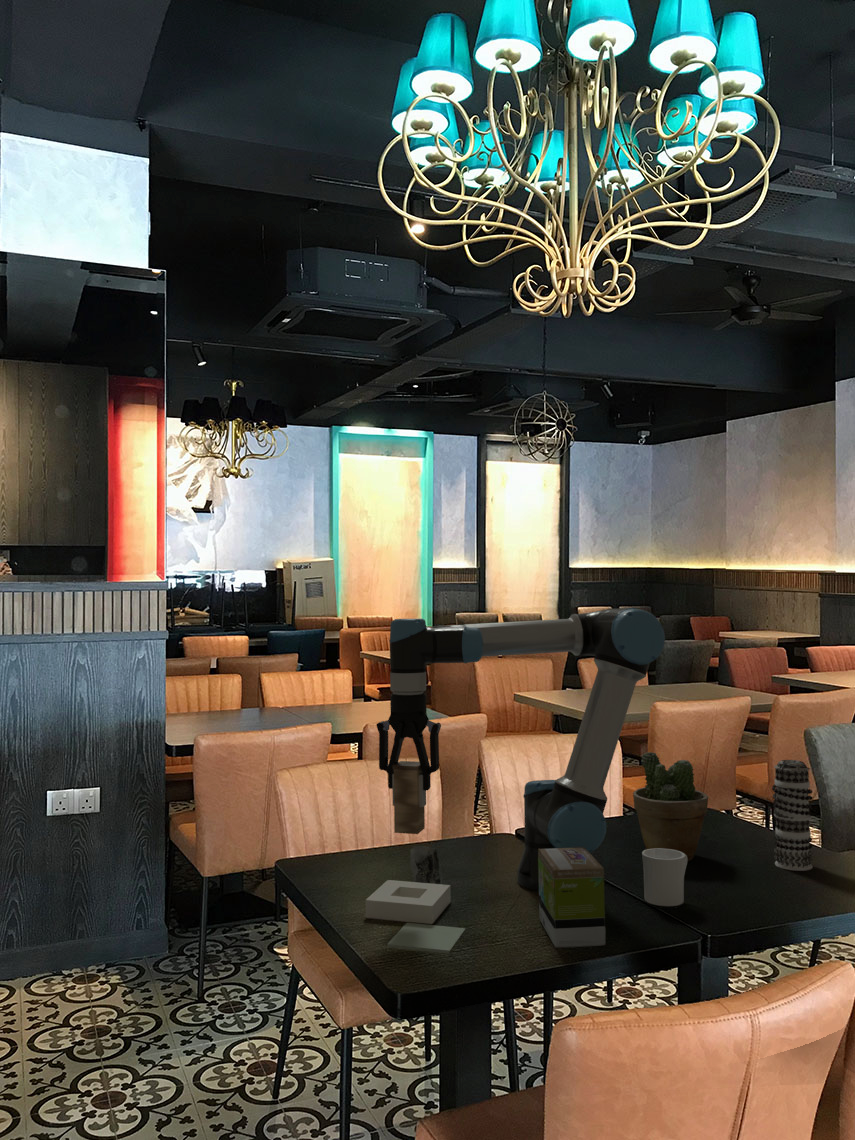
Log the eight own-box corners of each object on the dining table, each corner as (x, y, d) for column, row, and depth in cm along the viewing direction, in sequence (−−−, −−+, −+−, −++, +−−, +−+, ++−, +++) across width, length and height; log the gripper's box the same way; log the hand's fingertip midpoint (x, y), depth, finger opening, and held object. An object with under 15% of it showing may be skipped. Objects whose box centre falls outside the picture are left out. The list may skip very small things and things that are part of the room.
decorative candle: (772, 869, 223) (770, 763, 224) (773, 859, 232) (772, 757, 233) (813, 873, 220) (812, 765, 221) (813, 862, 229) (811, 759, 229)
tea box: (537, 921, 188) (536, 846, 189) (586, 919, 189) (585, 845, 190) (553, 948, 173) (553, 868, 174) (607, 946, 174) (606, 866, 175)
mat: (465, 931, 182) (465, 928, 182) (449, 953, 171) (449, 950, 171) (406, 925, 186) (406, 922, 186) (387, 947, 174) (387, 944, 174)
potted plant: (718, 852, 238) (716, 753, 239) (696, 870, 222) (695, 764, 223) (648, 843, 248) (647, 748, 249) (622, 859, 232) (621, 758, 233)
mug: (662, 912, 193) (661, 861, 193) (633, 900, 201) (633, 851, 201) (702, 904, 198) (701, 854, 198) (672, 892, 206) (672, 845, 206)
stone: (448, 842, 210) (408, 836, 215) (434, 880, 203) (393, 874, 207) (458, 867, 216) (419, 862, 220) (445, 905, 209) (404, 899, 213)
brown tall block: (425, 828, 196) (425, 761, 197) (418, 834, 191) (417, 766, 192) (401, 826, 198) (400, 760, 198) (393, 832, 193) (392, 765, 193)
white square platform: (450, 904, 199) (450, 885, 199) (432, 926, 185) (432, 905, 185) (387, 898, 203) (387, 879, 203) (365, 919, 189) (365, 899, 189)
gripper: (454, 691, 196) (456, 803, 196) (373, 690, 201) (374, 799, 201) (445, 695, 189) (446, 811, 189) (361, 693, 194) (362, 806, 194)
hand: (409, 804), depth 195 cm, fingers closed on brown tall block, 5 cm apart
